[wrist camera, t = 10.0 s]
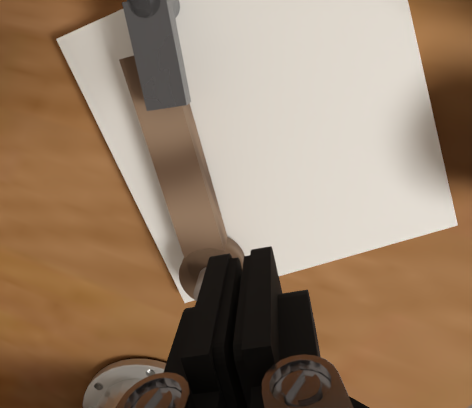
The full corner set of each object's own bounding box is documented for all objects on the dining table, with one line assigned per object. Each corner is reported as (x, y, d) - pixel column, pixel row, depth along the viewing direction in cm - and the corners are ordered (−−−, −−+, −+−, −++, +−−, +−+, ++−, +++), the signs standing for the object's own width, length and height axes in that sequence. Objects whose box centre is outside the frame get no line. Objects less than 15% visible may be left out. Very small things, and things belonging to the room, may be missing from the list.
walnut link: (251, 282, 34) (248, 318, 29) (194, 292, 35) (183, 328, 30) (186, 42, 28) (170, 43, 23) (118, 61, 28) (90, 65, 24)
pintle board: (188, 292, 37) (184, 302, 35) (66, 39, 30) (56, 39, 28) (449, 217, 32) (457, 225, 31) (377, -102, 25) (383, -110, 24)
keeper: (200, 94, 29) (186, 105, 24) (167, 99, 29) (146, 111, 25) (181, -13, 27) (161, -24, 22) (145, -6, 27) (117, -16, 22)
